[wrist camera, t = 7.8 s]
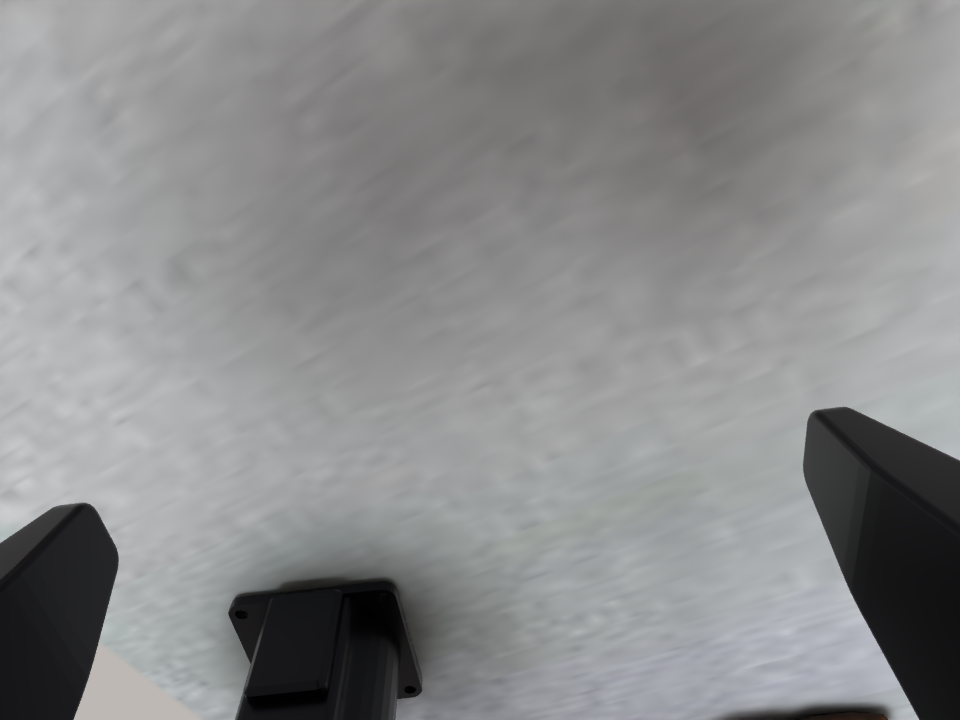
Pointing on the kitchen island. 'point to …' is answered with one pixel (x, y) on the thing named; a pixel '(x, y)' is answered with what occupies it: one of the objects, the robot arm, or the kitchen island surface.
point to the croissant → (848, 716)
